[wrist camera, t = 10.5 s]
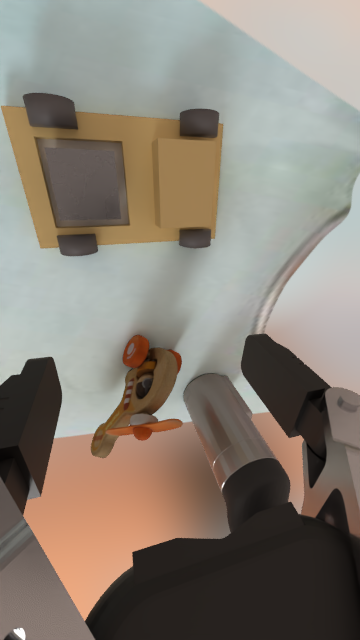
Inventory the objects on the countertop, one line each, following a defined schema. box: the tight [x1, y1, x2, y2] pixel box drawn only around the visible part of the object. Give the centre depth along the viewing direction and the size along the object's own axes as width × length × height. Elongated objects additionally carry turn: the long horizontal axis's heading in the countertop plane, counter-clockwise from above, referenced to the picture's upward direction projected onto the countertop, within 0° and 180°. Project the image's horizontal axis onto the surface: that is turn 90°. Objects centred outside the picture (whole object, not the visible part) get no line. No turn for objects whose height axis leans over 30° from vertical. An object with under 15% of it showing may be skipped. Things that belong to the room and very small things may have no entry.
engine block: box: [44, 147, 121, 221], centre depth 24 cm, size 6×6×6 cm
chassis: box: [1, 93, 223, 256], centre depth 25 cm, size 21×13×4 cm, turn 89°
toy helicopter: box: [91, 335, 182, 458], centre depth 35 cm, size 8×21×14 cm, turn 142°
